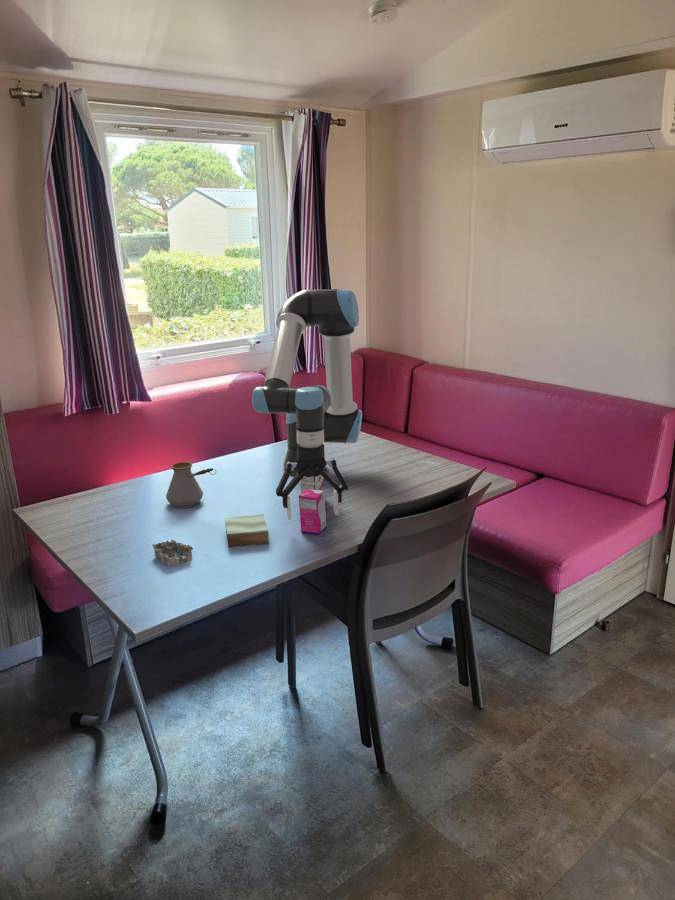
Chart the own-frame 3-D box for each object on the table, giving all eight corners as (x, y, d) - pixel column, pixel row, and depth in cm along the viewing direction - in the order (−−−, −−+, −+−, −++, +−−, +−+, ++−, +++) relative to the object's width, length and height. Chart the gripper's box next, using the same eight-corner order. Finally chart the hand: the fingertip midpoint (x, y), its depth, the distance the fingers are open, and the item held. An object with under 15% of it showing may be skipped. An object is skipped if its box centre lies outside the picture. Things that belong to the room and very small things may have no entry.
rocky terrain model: (196, 561, 174) (194, 547, 173) (169, 570, 170) (168, 556, 168) (177, 547, 182) (175, 534, 181) (151, 556, 177) (149, 542, 176)
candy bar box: (309, 498, 214) (307, 449, 209) (324, 499, 213) (323, 450, 208) (300, 511, 203) (298, 461, 198) (316, 513, 202) (314, 461, 197)
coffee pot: (159, 504, 211) (154, 459, 206) (188, 493, 219) (184, 450, 215) (202, 521, 198) (198, 474, 193) (231, 509, 206) (228, 463, 201)
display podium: (226, 531, 191) (225, 518, 190) (264, 527, 193) (263, 514, 192) (228, 547, 181) (227, 534, 180) (268, 543, 183) (267, 530, 182)
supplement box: (308, 524, 194) (306, 488, 191) (326, 527, 192) (325, 490, 189) (299, 532, 189) (298, 495, 186) (319, 535, 187) (317, 497, 183)
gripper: (266, 451, 177) (270, 525, 183) (358, 444, 181) (358, 516, 188) (263, 443, 184) (267, 514, 190) (351, 436, 189) (352, 506, 195)
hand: (312, 515), depth 189 cm, fingers open, 13 cm apart
